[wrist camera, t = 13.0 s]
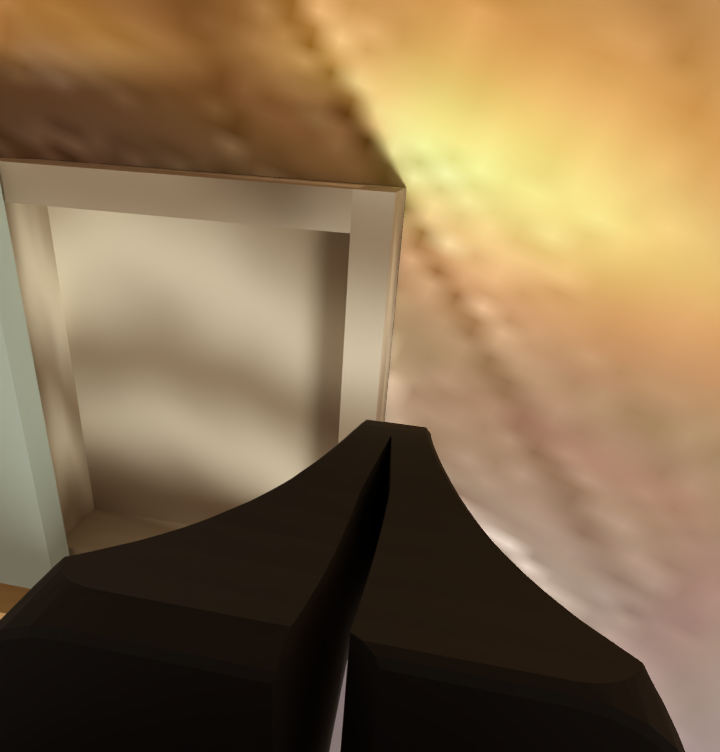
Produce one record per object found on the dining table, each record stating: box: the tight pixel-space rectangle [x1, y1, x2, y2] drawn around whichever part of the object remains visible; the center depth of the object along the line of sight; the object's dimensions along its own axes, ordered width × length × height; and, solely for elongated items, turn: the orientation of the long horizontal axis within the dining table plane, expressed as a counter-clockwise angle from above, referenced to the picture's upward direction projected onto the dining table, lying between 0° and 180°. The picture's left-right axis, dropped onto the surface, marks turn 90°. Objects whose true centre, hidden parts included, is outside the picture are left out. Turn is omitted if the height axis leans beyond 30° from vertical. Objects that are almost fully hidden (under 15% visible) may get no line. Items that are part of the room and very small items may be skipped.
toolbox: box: [0, 158, 406, 556], centre depth 20 cm, size 16×14×4 cm
